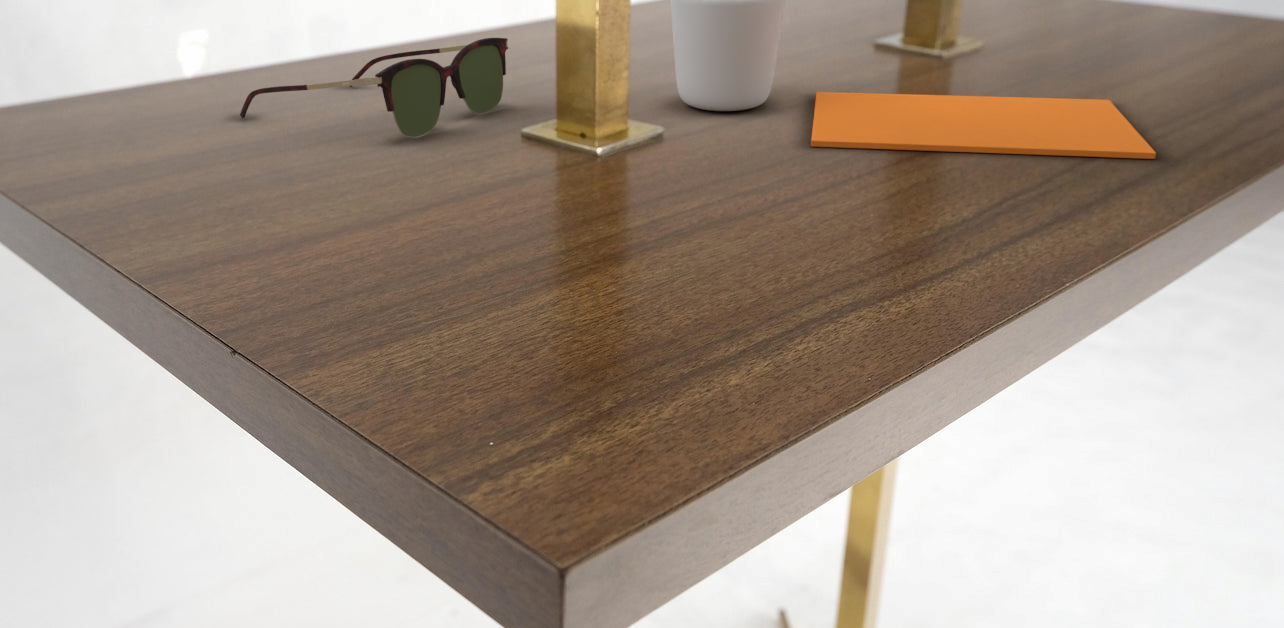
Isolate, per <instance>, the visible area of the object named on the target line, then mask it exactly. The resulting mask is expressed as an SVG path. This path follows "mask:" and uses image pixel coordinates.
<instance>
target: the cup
mask: <svg viewBox="0 0 1284 628" xmlns="http://www.w3.org/2000/svg"><path fill="white" fill-rule="evenodd" d="M786 1H787V0H669V5H670V17H671V30H672V42H673V43H672V44H673V54H674V69H675V81H676V87H677V91H678V95H679V97H680V99H681V100H682V102H683V103H685V104H686V105H688V106H690V107H693V108H696V109H699V110H704V111H705V110H706V111H713V112H737V111H745V110H751V109H753V108H757V107H759V106H761V105H762V104H764V103H765V102H766V101H767V99H768V98H769V96H770V94H771V91H772V87H773V82H774V79H775V78H774V76H775V72H776V71H775V70H776V65H777V57H778V51H779V46H780V38H781V34H782V33H781V32H782V26H783V21H784V14H785V8H786Z"/></svg>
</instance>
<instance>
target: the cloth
mask: <svg viewBox="0 0 1284 628" xmlns="http://www.w3.org/2000/svg"><path fill="white" fill-rule="evenodd" d="M813 111H814V112H813V121H812V131H811V139H810V142H811V143H810V147H815V148H841V149H843V148H844V149H867V150H868V149H869V150H870V149H871V150H893V151H894V150H897V151H920V152H922V151H923V152H925V151H926V152H951V153H974V154H975V153H976V154H977V153H979V154H980V153H981V154H1001V155H1002V154H1004V155H1005V154H1006V155H1030V156H1057V157H1059V156H1063V157H1085V158H1086V157H1087V158H1116V159H1137V160H1138V159H1143V160H1155V159H1156V156H1157V152H1156V151H1155V150H1154V149H1153V148H1152V147H1151V145H1150V144H1149V143H1148V142H1147V141H1146V140H1145V139H1144V137H1143V136H1142V135H1141V134H1140V133H1139V132H1138V131H1137V130H1136V128H1135V127H1134V126H1133V125H1132V124H1131V123H1130V122H1129V120H1128V119H1127V118H1126V117H1125V116H1124V115H1123V114H1122V113H1121V111H1120V110H1119V109H1118V108H1117V107H1116V106H1115V105H1114V103H1113V102H1112V101H1111V100H1110V99H1094V98H1063V97H1062V98H1061V97H1060V98H1059V97H1057V98H1056V97H1055V98H1054V97H1024V96H1021V97H1020V96H1017V97H1016V96H985V95H984V96H983V95H982V96H981V95H951V94H950V95H949V94H948V95H947V94H915V93H914V94H910V93H909V94H908V93H876V92H875V93H873V92H842V91H841V92H840V91H839V92H838V91H837V92H836V91H816V92H815V102H814V110H813Z"/></svg>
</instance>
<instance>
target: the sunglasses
mask: <svg viewBox="0 0 1284 628" xmlns="http://www.w3.org/2000/svg"><path fill="white" fill-rule="evenodd" d="M508 40H509V39H508V38H506V37H485V38H481V39H478V40H475V41H473V42H470V43H469V44H465V45H455V46H449V47H441V48H432V49H422V50H411V51H405V52H399V53H398V52H397V53H392V54H386V55H382V56H379V57H375V58H373V59H371V60H370V61H368V62H367V63H365V65H364V66H363V67H362V68H361V69H360V70H359V71H358V72H357V73H356V74H355V75H354V76H353V77H352V79H349V80H340V81H331V82H324V83H323V82H322V83H311V84H297V85H280V86H271V87H262V88H258V89H255V90H253V91H251V92H250V93H249V94H248V95H247V97H246V98H245V101H244V103H243V105H242V108H241V111H240V113H239V117H241V118H242V119H245V118H246V114H247V112H248V109H249V107H250V105H251V103H252V101H253V99H254V98H255V97H256V96H258V95H263V94H271V93H282V92H283V93H284V92H296V91H297V92H299V91H300V92H301V91H312V90H313V91H314V90H322V89H323V90H324V89H332V88H341V87H342V88H343V87H349V88H352V87H353V86H359V87H362V86H371V85H373V86H374V85H377V87H378V88H381V90H382V95H383V99H384V103H385V108H386V112H389V113H392V115H393V119H394V122H395V124H396V127H397V128H398V131H399V132H400V133H401V135H402V136H404V137H407V138H421V137H423V136H426V135H427V134H430V132H432V131H433V130H434V128H435V127H436V126H437V123H438V121H439V119H440V115H441V109H442V106H444V105H445V100H446V91H447V90H446V89H447V80H448V77H450V82H451V85H452V87H453V88H454V90H455V92H456V94H457V97H458V98H459V99H463V102H464V103H465V106H466V107H467V108H468V110H469V111H470V112H472V113H473V114H475V115H485V114H487V113H489V112H491V111H493V110H494V109H495V108H497V106H498V105H499V104H500V102H501V101H502V97H503V91H504V76H506V75H507V69H506V67H507V64H506V63H507V62H506V52H507V50H508V49H509V46H508V42H509V41H508ZM450 52H451V53H452V52H458V53H457V54H456V55H455V56H454V58H452V61H451V63H450V64H449V65H446V66H442V65H441V64H439V63H438V62H436V61H434V60H431V59H428V58H427V59H426V58H411V59H405V60H402V61H399V62H396V63H393V64H391V65H389V66H387V67H386V68H384V69H382V70H381V71H379V72H378V73H375V75H374V76H375V77H362V76H363V75H364V74H365V73H366V72H367V71H368V70H369V69H370V68H371V67H373V66H374V65H375V64H377V63H379V62H383V61H387V60H393V59H399V58H400V59H401V58H406V57H414V56H415V57H416V56H425V55H434V54H443V53H450Z"/></svg>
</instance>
